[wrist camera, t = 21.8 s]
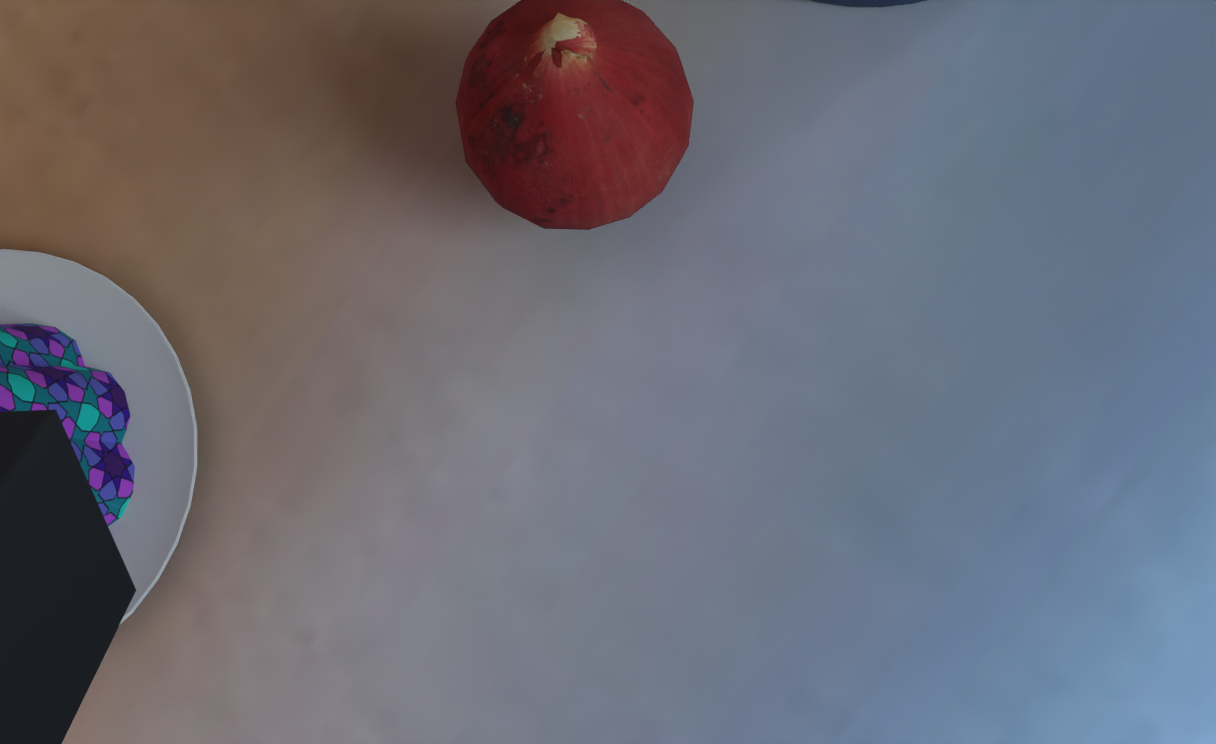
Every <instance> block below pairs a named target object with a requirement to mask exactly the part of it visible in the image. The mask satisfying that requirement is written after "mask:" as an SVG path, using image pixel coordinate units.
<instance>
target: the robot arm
mask: <svg viewBox="0 0 1216 744" xmlns="http://www.w3.org/2000/svg"><path fill="white" fill-rule="evenodd" d="M135 592H136V588H135V586H134V584H133V581H132V579H131V577H130V575H129V572H128V570H127V568H126V566H125V563H124V561H123V559H122V557H121V554H120V552H119V550H118V548H117V546H116V543H115V541H114V539H113V537H112V534H111V532H110V530H109V528H108V525H107V523H106V521H105V519H104V516H103V514H102V512H101V510H100V507H99V505H98V503H97V501H96V498H95V496H94V494H93V492H92V489H91V487H90V485H89V483H88V480H87V478H86V476H85V474H84V471H83V469H82V467H81V465H80V462H79V460H78V458H77V456H76V453H75V451H74V449H73V447H72V444H71V442H70V440H69V438H68V435H67V433H66V431H65V429H64V426H63V424H62V422H61V420H60V417H59V415H58V413H57V411H56V410H31V411H7V412H0V744H61V743H62V741H63V739H64V737H65V735H66V733H67V731H68V729H69V727H70V725H71V723H72V721H73V719H74V717H75V715H76V713H77V711H78V708H79V706H80V704H81V702H82V700H83V698H84V696H85V694H86V692H87V690H88V688H89V686H90V684H91V682H92V680H93V678H94V676H95V674H96V672H97V670H98V668H99V666H100V663H101V661H102V659H103V657H104V655H105V653H106V651H107V649H108V647H109V645H110V643H111V641H112V639H113V637H114V635H115V633H116V631H117V629H118V627H119V625H120V623H121V621H122V618H123V616H124V614H125V612H126V610H127V608H128V606H129V604H130V602H131V600H132V598H133V596H134V594H135Z"/></svg>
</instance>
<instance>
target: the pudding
mask: <svg viewBox="0 0 1216 744" xmlns="http://www.w3.org/2000/svg"><path fill="white" fill-rule="evenodd" d="M31 410H56V411H57V413H58V415H59V417H60V420H61V422H62V424H63V426H64V429H65V431H66V433H67V435H68V438H69V440H70V442H71V444H72V447H73V449H74V451H75V453H76V456H77V458H78V460H79V462H80V465H81V467H82V469H83V471H84V474H85V476H86V478H87V480H88V483H89V485H90V487H91V489H92V492H93V494H94V496H95V498H96V501H97V503H98V505H99V507H100V510H101V512H102V514H103V516H104V519H105V521H106V523H107V525H108V528H109V530H110V532H111V534H112V537H113V539H114V541H115V543H116V546H117V548H118V550H119V552H120V554H121V557H122V559H123V561H124V563H125V566H126V568H127V570H128V572H129V575H130V577H131V579H132V581H133V584H134V586H135V588H136V592H135V594H134V596H133V598H132V600H131V602H130V604H129V606H128V608H127V610H126V612H125V614H124V616H123V618H122V621H121V623H122V622H123V621H124V620H126V619H127V618H128V617H129V616H130V615H131V614H132V613H133V612H134V611H135V609H136V608H137V607H138V605H139V604H140V603H141V602H142V600H143V599H144V598H145V596H146V595H147V594H148V592H149V591H150V590H151V589H152V587H153V586H154V585H155V583H156V582H157V581H158V579H159V578H160V576H161V574H162V572H163V570H164V568H165V566H166V565H167V563H168V561H169V559H170V557H171V555H172V553H173V551H174V550H175V548H176V546H177V544H178V542H179V539H180V536H181V533H182V530H183V527H184V524H185V521H186V518H187V515H188V512H189V509H190V506H191V502H192V496H193V490H194V484H195V478H196V472H197V424H196V418H195V413H194V407H193V402H192V396H191V391H190V388H189V385H188V383H187V380H186V377H185V375H184V372H183V369H182V367H181V364H180V362H179V359H178V356H177V354H176V353H175V351H174V349H173V348H172V346H171V345H170V343H169V341H168V340H167V338H166V336H165V335H164V333H163V331H162V330H161V328H160V326H159V325H158V324H157V323H156V322H155V320H154V319H153V318H152V317H151V316H150V315H149V314H148V313H147V312H146V310H145V309H144V308H143V307H142V306H141V305H140V304H139V303H138V302H137V301H136V299H135V298H133V297H132V296H131V295H129V294H128V293H127V292H125V291H124V290H123V289H121V288H120V287H119V286H117V285H116V284H115V283H113V282H112V281H111V280H109V279H108V278H107V277H105V276H103V275H101V274H99V273H97V272H95V271H93V270H91V269H89V268H87V267H85V266H82V265H80V264H78V263H76V262H74V261H70V260H67V259H63V258H60V257H56V256H52V255H49V254H45V253H42V252H32V251H21V250H10V249H0V412H7V411H31ZM121 623H120V624H121Z"/></svg>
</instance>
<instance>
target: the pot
mask: <svg viewBox="0 0 1216 744" xmlns="http://www.w3.org/2000/svg"><path fill="white" fill-rule="evenodd" d="M812 1H816V2H821V3H829V4H836V5H843V6H857V7H885V6H894V5H904V4H913V3H917V2H921V1H926V0H812Z"/></svg>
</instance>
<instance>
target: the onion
mask: <svg viewBox="0 0 1216 744" xmlns="http://www.w3.org/2000/svg"><path fill="white" fill-rule="evenodd" d="M693 102H694V101H693V98H692V95H691V91H690V88H689V85H688V82H687V79H686V76H685V73H684V70H683V67H682V64H681V60H680V58H679V55H678V53H677V50H676V48H675V47H674V46H673V44H672V43H671V42H670V41H669V40H668V39H667V38H666V36H665V35H664V34H663V33H662V32H661V31H660V29H659V28H658V27H657V26H656V25H655V24H654V23H653V21H652V20H651V19H650V18H649V17H648V16H647V15H646V14H645V13H644V12H643V11H641V10H639V9H637V8H635V7H633V6H632V5H630V4H628V3H626V2H624V1H622V0H521V1H519V2H518V3H516V4H515V5H514V6H512V7H511V8H509V9H508V10H506V11H505V12H503V13H502V14H500V15H499V16H498V17H496V18H495V19H493V20H492V21H491V22H490V23H489V25H488V26H487V28H486V29H485V31H484V32H483V34H482V35H481V37H480V38H479V39H478V41H477V42H476V44H475V45H474V47H473V48H472V50H471V51H470V53H469V55H468V57H467V59H466V61H465V65H464V69H463V74H462V78H461V82H460V86H459V91H458V95H457V99H456V108H457V114H458V119H459V125H460V131H461V136H462V142H463V148H464V153H465V159H466V163H467V164H468V165H469V167H470V168H471V169H472V170H473V172H474V173H475V174H476V176H477V177H478V178H479V180H480V181H481V182H482V184H483V185H484V186H485V188H486V189H487V190H488V192H489V193H490V194H491V196H492V197H493V198H494V200H495V201H496V202H497V203H498V204H499V205H501V206H502V207H503V208H505V209H507V210H509V211H511V212H513V213H515V214H516V215H518V216H520V217H522V218H524V219H526V220H528V221H530V222H532V223H534V224H536V225H538V226H540V227H542V228H545V229H582V230H589V229H592V228H596V227H599V226H602V225H606V224H609V223H612V222H615V221H619V220H622V219H625V218H629V217H630V216H631V215H633V214H634V213H635V212H637V211H638V210H639V209H641V208H642V207H643V206H644V205H646V204H647V203H648V202H650V201H651V200H652V199H654V198H655V197H656V196H657V195H659V194H660V193H661V192H662V191H663V189H664V188H665V186H666V184H667V183H668V181H669V179H670V177H671V176H672V174H673V172H674V171H675V169H676V167H677V165H678V164H679V162H680V160H681V159H682V157H683V155H684V153H685V151H686V149H687V147H688V146H689V137H690V129H691V120H692V111H693Z"/></svg>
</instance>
